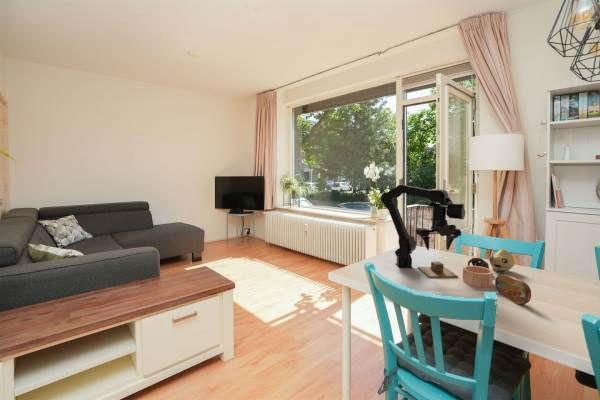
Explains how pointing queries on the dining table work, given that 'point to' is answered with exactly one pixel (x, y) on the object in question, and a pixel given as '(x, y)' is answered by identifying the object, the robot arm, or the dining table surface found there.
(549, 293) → the dining table surface
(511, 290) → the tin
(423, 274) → the teal mat
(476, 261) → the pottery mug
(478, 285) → the terracotta bowl
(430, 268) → the walnut lid
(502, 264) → the yellow rounded lump
